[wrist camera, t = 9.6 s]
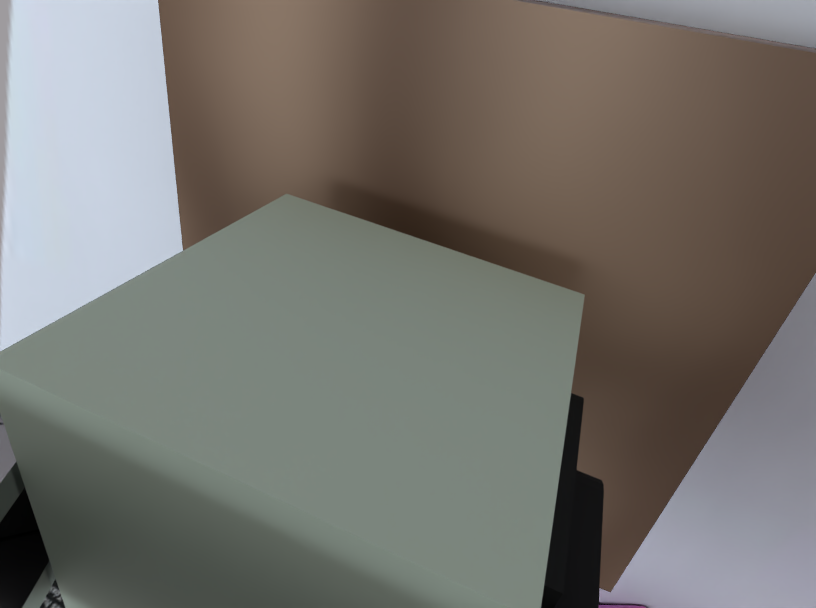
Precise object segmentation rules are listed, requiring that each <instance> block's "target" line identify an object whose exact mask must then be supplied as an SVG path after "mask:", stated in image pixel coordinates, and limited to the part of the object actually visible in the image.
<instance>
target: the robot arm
mask: <svg viewBox="0 0 816 608" xmlns="http://www.w3.org/2000/svg"><path fill="white" fill-rule="evenodd" d="M583 404H584V398H583V397H581V396H578V395H575V394H573V393H571V397H570V404H569V411H568V418H567V425H566V433H565V440H564V447H563V454H562V461H561V468H560V475H559V483H558V490H557V497H556V504H555V511H554V518H553V525H552V533H551V540H550V547H549V554H548V561H547V568H546V575H545V583H544V590H543V597H542V604H541V608H599V587H600V565H601V543H602V521H603V499H604V484H603V482H602V480H600V479H598V478H595V477H593V476H590V475H588V474H585V473H583V472H580V471H578V470H577V461H578V451H579V442H580V433H581V423H582V414H583ZM55 579H56V578H55V575H54V572H53V569H52V566H51V563H50V560H49V557H48V554H47V551H46V548H45V545H44V542H43V539H42V536H41V533H40V530H39V527H38V524H37V521H36V518H35V516H34V513H33V510H32V507H31V504H30V501H29V498H28V495H27V492H26V489H25V486H24V483H23V480H22V477H21V474H20V471H19V468H18V465H17V462H16V459H15V456H14V453H13V450H12V447H11V444H10V441H9V438H8V435H7V432H6V429H5V426H4V423H3V420H2V417H1V414H0V608H40V606H41V604H42V603H43V601H44V599H45V597H46V595H47V594H48V592H49V590H50V588H51V586H52V584H53V583H54V581H55Z"/></svg>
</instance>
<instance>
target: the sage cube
mask: <svg viewBox="0 0 816 608" xmlns="http://www.w3.org/2000/svg"><path fill="white" fill-rule="evenodd" d="M584 297H585V295H584V294H581V293H579V292H576V291H573V290H570V289H567V288H564V287H561V286H558V285H555V284H552V283H549V282H546V281H543V280H540V279H537V278H534V277H531V276H528V275H525V274H522V273H519V272H517V271H514V270H511V269H508V268H505V267H502V266H499V265H496V264H493V263H490V262H487V261H484V260H481V259H478V258H475V257H472V256H469V255H466V254H463V253H460V252H457V251H454V250H452V249H449V248H446V247H443V246H440V245H437V244H434V243H431V242H428V241H425V240H422V239H419V238H416V237H413V236H410V235H407V234H404V233H401V232H398V231H395V230H392V229H390V228H387V227H384V226H381V225H378V224H375V223H372V222H369V221H366V220H363V219H360V218H357V217H354V216H351V215H348V214H345V213H342V212H339V211H336V210H333V209H330V208H328V207H325V206H322V205H319V204H316V203H313V202H310V201H307V200H304V199H301V198H298V197H295V196H292V195H289V194H285V195H283V196H281V197H280V198H278V199H276V200H274V201H272V202H270V203H269V204H267V205H265V206H263V207H261V208H260V209H258V210H256V211H254V212H252V213H251V214H249V215H247V216H245V217H243V218H242V219H240V220H238V221H236V222H234V223H232V224H231V225H229V226H227V227H225V228H223V229H222V230H220V231H218V232H216V233H214V234H213V235H211V236H209V237H207V238H205V239H203V240H202V241H200V242H198V243H196V244H194V245H193V246H191V247H189V248H187V249H185V250H184V251H182V252H180V253H178V254H176V255H174V256H173V257H171V258H169V259H167V260H165V261H164V262H162V263H160V264H158V265H156V266H155V267H153V268H151V269H149V270H147V271H145V272H144V273H142V274H140V275H138V276H136V277H135V278H133V279H131V280H129V281H127V282H126V283H124V284H122V285H120V286H118V287H116V288H115V289H113V290H111V291H109V292H107V293H106V294H104V295H102V296H100V297H98V298H97V299H95V300H93V301H91V302H89V303H87V304H86V305H84V306H82V307H80V308H78V309H77V310H75V311H73V312H71V313H69V314H68V315H66V316H64V317H62V318H60V319H58V320H57V321H55V322H53V323H51V324H49V325H48V326H46V327H44V328H42V329H40V330H39V331H37V332H35V333H33V334H31V335H29V336H28V337H26V338H24V339H22V340H20V341H19V342H17V343H15V344H13V345H11V346H10V347H8V348H6V349H4V350H2V351H0V414H1V417H2V420H3V423H4V426H5V429H6V432H7V435H8V438H9V441H10V444H11V447H12V450H13V453H14V456H15V459H16V462H17V465H18V468H19V471H20V474H21V477H22V480H23V483H24V486H25V489H26V492H27V495H28V498H29V501H30V504H31V507H32V510H33V513H34V516H35V518H36V521H37V524H38V527H39V530H40V533H41V536H42V539H43V542H44V545H45V548H46V551H47V554H48V557H49V560H50V563H51V566H52V569H53V572H54V575H55V578H56V581H57V584H58V587H59V590H60V593H61V596H62V599H63V602H64V605H65V608H541V604H542V597H543V590H544V583H545V575H546V568H547V561H548V554H549V547H550V540H551V533H552V525H553V518H554V511H555V504H556V497H557V490H558V483H559V475H560V468H561V461H562V454H563V447H564V440H565V433H566V425H567V418H568V411H569V404H570V397H571V390H572V383H573V376H574V368H575V361H576V354H577V347H578V340H579V333H580V326H581V318H582V311H583V304H584Z"/></svg>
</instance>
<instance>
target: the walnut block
mask: <svg viewBox="0 0 816 608" xmlns="http://www.w3.org/2000/svg"><path fill="white" fill-rule="evenodd" d="M158 3H159V13H160V23H161V34H162V44H163V54H164V64H165V74H166V84H167V94H168V104H169V114H170V124H171V134H172V144H173V154H174V164H175V174H176V184H177V194H178V204H179V214H180V224H181V234H182V245H183V251H184V250H185V249H187V248H189V247H191V246H193V245H194V244H196V243H198V242H200V241H202V240H203V239H205V238H207V237H209V236H211V235H213V234H214V233H216V232H218V231H220V230H222V229H223V228H225V227H227V226H229V225H231V224H232V223H234V222H236V221H238V220H240V219H242V218H243V217H245V216H247V215H249V214H251V213H252V212H254V211H256V210H258V209H260V208H261V207H263V206H265V205H267V204H269V203H270V202H272V201H274V200H276V199H278V198H280V197H281V196H283V195H285V194H289V195H292V196H295V197H298V198H301V199H304V200H307V201H310V202H313V203H316V204H319V205H322V206H325V207H328V208H330V209H333V210H336V211H339V212H342V213H345V214H348V215H351V216H354V217H357V218H360V219H363V220H366V221H369V222H372V223H375V224H378V225H381V226H384V227H387V228H390V229H392V230H395V231H398V232H401V233H404V234H407V235H410V236H413V237H416V238H419V239H422V240H425V241H428V242H431V243H434V244H437V245H440V246H443V247H446V248H449V249H452V250H454V251H457V252H460V253H463V254H466V255H469V256H472V257H475V258H478V259H481V260H484V261H487V262H490V263H493V264H496V265H499V266H502V267H505V268H508V269H511V270H514V271H517V272H519V273H522V274H525V275H528V276H531V277H534V278H537V279H540V280H543V281H546V282H549V283H552V284H555V285H558V286H561V287H564V288H567V289H570V290H573V291H576V292H579V293H581V294H584V295H585V297H584V304H583V311H582V318H581V326H580V333H579V340H578V347H577V354H576V361H575V368H574V376H573V383H572V390H571V393H573V394H575V395H578V396H581V397H583V398H584V404H583V414H582V423H581V433H580V442H579V451H578V461H577V470H578V471H580V472H583V473H585V474H588V475H590V476H593V477H595V478H598V479H600V480H602V482H603V484H604V499H603V521H602V543H601V565H600V587H599V588H601V589H604V590H606V591H608V592H611V591H612V589H613V588H614V586H615V584H616V583H617V581H618V580H619V578H620V577H621V575H622V573H623V572H624V570H625V569H626V567H627V566H628V564H629V563H630V561H631V559H632V558H633V556H634V555H635V553H636V552H637V550H638V549H639V547H640V545H641V544H642V542H643V541H644V539H645V538H646V536H647V535H648V533H649V531H650V530H651V528H652V527H653V525H654V524H655V522H656V521H657V519H658V517H659V516H660V514H661V513H662V511H663V510H664V508H665V506H666V505H667V503H668V502H669V500H670V499H671V497H672V496H673V494H674V492H675V491H676V489H677V488H678V486H679V485H680V483H681V482H682V480H683V478H684V477H685V475H686V474H687V472H688V471H689V469H690V468H691V466H692V464H693V463H694V461H695V460H696V458H697V457H698V455H699V454H700V452H701V450H702V449H703V447H704V446H705V444H706V443H707V441H708V439H709V438H710V436H711V435H712V433H713V432H714V430H715V429H716V427H717V425H718V424H719V422H720V421H721V419H722V418H723V416H724V415H725V413H726V411H727V410H728V408H729V407H730V405H731V404H732V402H733V401H734V399H735V397H736V396H737V394H738V393H739V391H740V390H741V388H742V387H743V385H744V383H745V382H746V380H747V379H748V377H749V376H750V374H751V373H752V371H753V369H754V368H755V366H756V365H757V363H758V362H759V360H760V358H761V357H762V355H763V354H764V352H765V351H766V349H767V348H768V346H769V344H770V343H771V341H772V340H773V338H774V337H775V335H776V334H777V332H778V330H779V329H780V327H781V326H782V324H783V323H784V321H785V320H786V318H787V316H788V315H789V313H790V312H791V310H792V309H793V307H794V306H795V304H796V302H797V301H798V299H799V298H800V296H801V295H802V293H803V291H804V290H805V288H806V287H807V285H808V284H809V282H810V281H811V279H812V277H813V276H814V274H815V273H816V49H815V48H809V47H804V46H798V45H792V44H786V43H780V42H775V41H769V40H763V39H757V38H751V37H746V36H740V35H734V34H728V33H722V32H716V31H711V30H705V29H699V28H693V27H687V26H682V25H676V24H670V23H664V22H658V21H653V20H647V19H641V18H635V17H629V16H624V15H618V14H612V13H606V12H600V11H595V10H589V9H583V8H577V7H571V6H566V5H560V4H554V3H548V2H542V1H537V0H158Z"/></svg>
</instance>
